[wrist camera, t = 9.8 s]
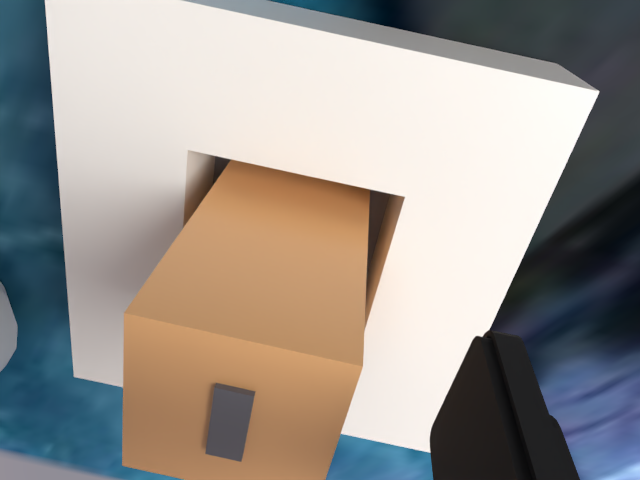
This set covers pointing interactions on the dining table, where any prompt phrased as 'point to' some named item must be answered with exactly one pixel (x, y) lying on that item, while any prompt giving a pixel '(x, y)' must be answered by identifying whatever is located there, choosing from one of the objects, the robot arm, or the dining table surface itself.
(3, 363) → the can
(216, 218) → the charger
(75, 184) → the outlet plate
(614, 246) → the dining table surface
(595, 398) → the dining table surface
